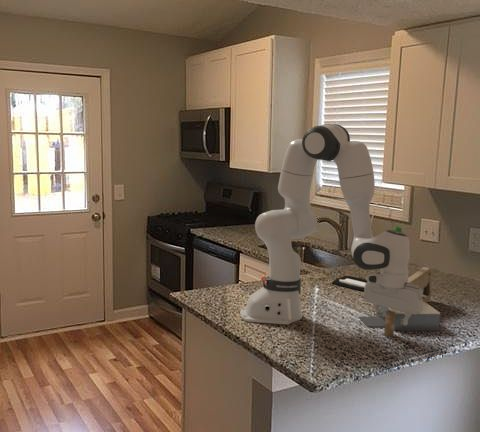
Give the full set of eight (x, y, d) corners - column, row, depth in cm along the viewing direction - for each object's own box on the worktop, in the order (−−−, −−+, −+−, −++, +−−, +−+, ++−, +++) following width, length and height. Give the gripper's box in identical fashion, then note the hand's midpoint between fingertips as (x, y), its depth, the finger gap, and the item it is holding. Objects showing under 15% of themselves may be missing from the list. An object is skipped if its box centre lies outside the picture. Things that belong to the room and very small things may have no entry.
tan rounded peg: (385, 336, 172) (387, 313, 171) (382, 333, 175) (384, 310, 174) (394, 336, 172) (396, 313, 171) (391, 333, 175) (393, 310, 174)
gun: (424, 299, 216) (426, 264, 213) (432, 300, 214) (434, 265, 211) (400, 318, 198) (402, 280, 194) (408, 320, 196) (410, 282, 192)
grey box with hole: (393, 330, 178) (394, 312, 177) (379, 316, 192) (380, 300, 191) (438, 330, 179) (440, 312, 178) (421, 317, 193) (423, 300, 192)
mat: (367, 327, 180) (367, 326, 180) (358, 317, 190) (359, 316, 190) (390, 327, 181) (390, 326, 181) (380, 317, 191) (380, 316, 191)
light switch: (328, 280, 234) (345, 272, 244) (328, 286, 235) (345, 278, 245) (367, 289, 221) (384, 281, 231) (367, 296, 222) (383, 287, 231)
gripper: (428, 285, 165) (425, 327, 166) (373, 272, 180) (370, 311, 182) (417, 288, 161) (414, 331, 162) (362, 275, 176) (360, 315, 177)
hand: (391, 320), depth 172 cm, fingers open, 8 cm apart
